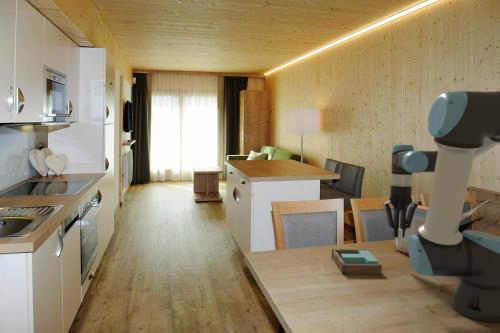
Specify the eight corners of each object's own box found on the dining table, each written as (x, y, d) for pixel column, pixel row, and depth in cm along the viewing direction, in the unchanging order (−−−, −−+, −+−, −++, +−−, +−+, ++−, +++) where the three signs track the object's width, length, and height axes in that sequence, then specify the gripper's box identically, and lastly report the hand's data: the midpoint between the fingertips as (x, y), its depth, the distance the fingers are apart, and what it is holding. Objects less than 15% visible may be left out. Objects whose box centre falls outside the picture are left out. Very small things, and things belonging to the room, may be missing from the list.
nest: (381, 274, 142) (381, 265, 142) (342, 274, 142) (343, 265, 141) (365, 257, 160) (366, 249, 160) (331, 257, 160) (331, 249, 159)
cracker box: (432, 256, 162) (435, 207, 159) (424, 259, 158) (427, 209, 156) (401, 247, 173) (404, 201, 170) (393, 250, 169) (396, 203, 167)
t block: (377, 271, 145) (378, 261, 145) (345, 271, 145) (346, 261, 144) (367, 260, 157) (367, 250, 157) (338, 260, 157) (338, 250, 156)
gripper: (413, 183, 152) (410, 243, 153) (380, 183, 151) (378, 242, 153) (422, 186, 144) (419, 248, 146) (388, 186, 144) (385, 248, 146)
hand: (398, 245), depth 149 cm, fingers closed
